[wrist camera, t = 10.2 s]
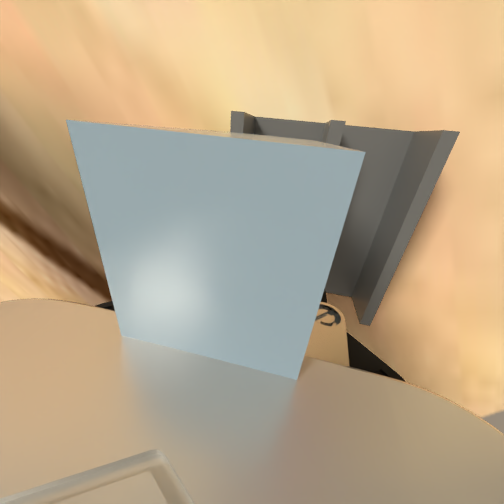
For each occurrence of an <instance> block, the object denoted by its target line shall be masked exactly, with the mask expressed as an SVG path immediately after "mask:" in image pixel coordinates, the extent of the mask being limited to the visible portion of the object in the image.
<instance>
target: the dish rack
mask: <svg viewBox="0 0 504 504" xmlns="http://www.w3.org/2000/svg"><path fill="white" fill-rule="evenodd" d="M345 122H346V121H336V120H330V121H329V122H327V123H316V122H305V121H295V120H284V119H273V118H263V117H254V116H252V115H250V114H247V113H245V112H237V111H231V131H230V132H233V133H246V134H258V135H268V136H277V137H287V138H296V139H306V140H316V141H320V142H324V143H329V144H333V145H337V146H341V147H346V148H350V149H354V150H359V151H363V152H365V156H364V159H363V162H362V166H361V169H360V172H359V176H358V179H357V182H356V186H355V189H354V192H353V196H352V199H351V202H350V206H349V209H348V212H347V216H346V219H345V222H344V226H343V229H342V232H341V236H340V239H339V242H338V246H337V249H336V252H335V256H334V259H333V262H332V266H331V269H330V272H329V275H328V279H327V282H326V285H325V292H327V293H333V294H338V295H343V296H348V297H352V300H353V303H354V307H355V310H356V313H357V316H358V320H359V323H360V324H364V325H369V326H370V324H371V322H372V320H373V318H374V316H375V314H376V312H377V309H378V307H379V305H380V303H381V301H382V299H383V296H384V294H385V292H386V290H387V288H388V286H389V284H390V281H391V279H392V277H393V275H394V273H395V271H396V268H397V266H398V264H399V262H400V260H401V258H402V256H403V253H404V251H405V249H406V247H407V245H408V243H409V240H410V238H411V236H412V234H413V232H414V230H415V228H416V225H417V223H418V221H419V219H420V217H421V215H422V212H423V210H424V208H425V206H426V204H427V202H428V200H429V197H430V195H431V193H432V191H433V189H434V187H435V184H436V182H437V180H438V178H439V176H440V174H441V172H442V169H443V167H444V165H445V163H446V161H447V159H448V156H449V154H450V152H451V150H452V148H453V146H454V144H455V141H456V139H457V137H458V135H459V133H460V132H456V131H445V130H440V131H419V132H412V131H401V130H391V129H380V128H369V127H359V126H348V125H345Z"/></svg>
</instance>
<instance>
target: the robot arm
mask: <svg viewBox="0 0 504 504" xmlns="http://www.w3.org/2000/svg"><path fill="white" fill-rule="evenodd" d="M0 504H504V434H503V433H501V432H500V431H499V430H498V429H496V428H495V427H494V426H492V425H491V424H489V423H488V422H486V421H485V420H483V419H482V418H480V417H479V416H477V415H475V414H474V413H472V412H471V411H469V410H467V409H465V408H463V407H461V406H459V405H458V404H456V403H454V402H452V401H450V400H448V399H446V398H444V397H442V396H440V395H438V394H435V393H433V392H431V391H428V390H426V389H424V388H421V387H418V386H415V385H412V384H410V383H407V382H405V380H404V379H403V378H402V377H401V376H400V375H399V374H398V373H396V372H395V371H394V370H393V369H391V368H390V367H389V366H388V365H386V364H385V363H384V362H383V361H382V360H380V359H379V358H378V357H377V356H375V355H374V354H373V353H372V352H371V351H369V350H368V349H367V348H366V347H364V346H363V345H362V344H361V343H360V342H358V341H357V340H356V339H355V338H353V337H352V336H351V335H350V334H349V333H347V332H346V321H345V317H344V315H343V314H342V312H341V311H340V310H339V309H338V308H336V307H335V306H333V305H331V304H328V303H327V299H326V292H325V289H324V292H323V295H322V299H321V302H320V305H319V309H318V312H317V315H316V319H315V322H314V325H313V329H312V332H311V335H310V339H309V342H308V345H307V349H306V352H305V355H304V359H303V362H302V365H301V369H300V372H299V375H298V379H297V380H295V379H291V378H287V377H284V376H280V375H276V374H272V373H268V372H264V371H260V370H256V369H252V368H249V367H245V366H241V365H237V364H233V363H229V362H225V361H221V360H218V359H214V358H210V357H206V356H202V355H198V354H194V353H190V352H186V351H182V350H178V349H174V348H170V347H166V346H162V345H158V344H154V343H150V342H146V341H142V340H138V339H133V338H129V337H125V336H121V333H120V329H119V325H118V321H117V317H116V313H115V309H114V305H113V301H110V302H106V303H103V304H99V305H96V306H90V305H85V304H80V303H75V302H70V301H62V300H54V299H20V300H11V301H4V302H0Z"/></svg>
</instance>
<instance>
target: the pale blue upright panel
mask: <svg viewBox="0 0 504 504" xmlns="http://www.w3.org/2000/svg"><path fill="white" fill-rule="evenodd" d="M66 122H67V126H68V130H69V134H70V137H71V141H72V145H73V149H74V153H75V157H76V161H77V165H78V169H79V173H80V176H81V180H82V184H83V188H84V192H85V196H86V200H87V204H88V208H89V212H90V215H91V219H92V223H93V227H94V231H95V235H96V239H97V243H98V247H99V251H100V254H101V258H102V262H103V266H104V270H105V274H106V278H107V282H108V286H109V290H110V294H111V297H112V301H113V305H114V309H115V313H116V317H117V321H118V325H119V329H120V333H121V336H125V337H129V338H133V339H138V340H142V341H146V342H150V343H154V344H158V345H162V346H166V347H170V348H174V349H178V350H182V351H186V352H190V353H194V354H198V355H202V356H206V357H210V358H214V359H218V360H221V361H225V362H229V363H233V364H237V365H241V366H245V367H249V368H252V369H256V370H260V371H264V372H268V373H272V374H276V375H280V376H284V377H287V378H291V379H295V380H297V379H298V375H299V372H300V369H301V365H302V362H303V359H304V355H305V352H306V349H307V345H308V342H309V339H310V335H311V332H312V329H313V325H314V322H315V319H316V315H317V312H318V309H319V305H320V302H321V299H322V295H323V292H324V289H325V285H326V282H327V279H328V275H329V272H330V269H331V266H332V262H333V259H334V256H335V252H336V249H337V246H338V242H339V239H340V236H341V232H342V229H343V226H344V222H345V219H346V216H347V212H348V209H349V206H350V202H351V199H352V196H353V192H354V189H355V186H356V182H357V179H358V176H359V172H360V169H361V166H362V162H363V159H364V156H365V152H363V151H359V150H354V149H350V148H346V147H341V146H337V145H333V144H329V143H324V142H320V141H316V140H306V139H296V138H287V137H277V136H268V135H258V134H246V133H233V132H220V131H207V130H194V129H180V128H167V127H154V126H141V125H128V124H115V123H102V122H88V121H75V120H66Z"/></svg>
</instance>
